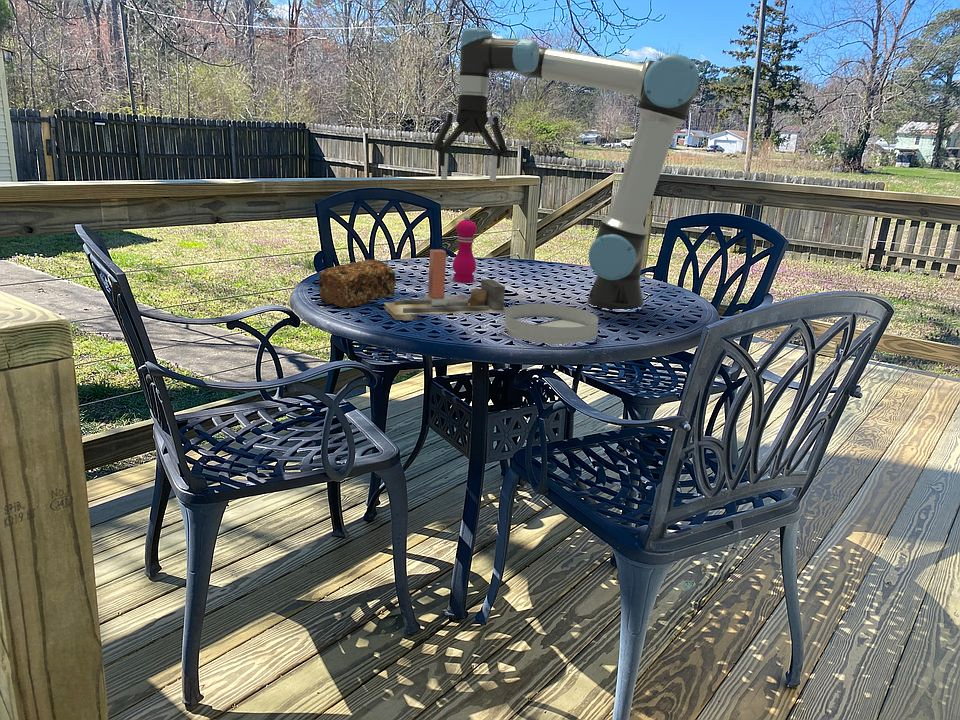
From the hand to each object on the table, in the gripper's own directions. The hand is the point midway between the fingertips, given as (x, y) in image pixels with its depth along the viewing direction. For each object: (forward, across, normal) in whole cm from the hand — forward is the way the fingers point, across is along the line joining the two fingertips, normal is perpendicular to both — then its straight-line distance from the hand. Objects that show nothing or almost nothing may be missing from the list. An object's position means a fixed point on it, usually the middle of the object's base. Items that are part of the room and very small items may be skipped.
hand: (468, 180), depth 194 cm
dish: (+32, -9, +38) cm, 50 cm away
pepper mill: (+32, -8, -23) cm, 40 cm away
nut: (+30, +1, +15) cm, 34 cm away
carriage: (+30, +10, +15) cm, 35 cm away
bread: (+32, +29, 0) cm, 43 cm away
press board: (+32, +9, +15) cm, 36 cm away
